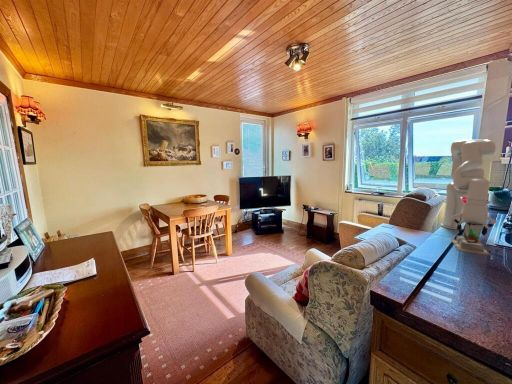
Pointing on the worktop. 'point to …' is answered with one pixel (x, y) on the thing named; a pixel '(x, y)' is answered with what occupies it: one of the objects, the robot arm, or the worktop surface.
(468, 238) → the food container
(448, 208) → the robot arm
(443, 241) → the worktop surface
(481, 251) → the beige rectangular frame
